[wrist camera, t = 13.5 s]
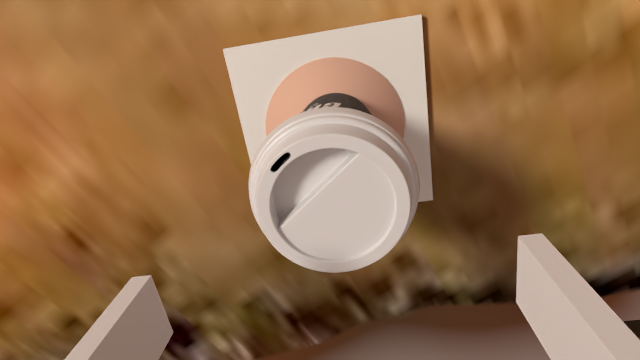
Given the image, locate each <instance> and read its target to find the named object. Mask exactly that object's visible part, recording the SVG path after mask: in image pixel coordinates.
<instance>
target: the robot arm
mask: <svg viewBox="0 0 640 360" xmlns="http://www.w3.org/2000/svg"><path fill="white" fill-rule="evenodd" d="M516 303H517V304H518V306H519V308H520V309H521V311H522V313H523V314H524V316H525V317H526V319H527V321H528V322H529V324H530V326H531V327H532V329H533V331H534V332H535V334H536V336H537V337H538V339H539V341H540V342H541V344H542V346H543V347H544V349H545V350H546V352H547V354H548V356H549V357H550V359H551V360H640V320H633V321H622V320H621V319H620V318H619V317H618V316H617V315H616V314H615V312H613V310H612V309H611V308H610V307H609V306H608V305H607V304H606V303H605V302H604V301H603V299H602V298H601V297H600V296H599V295H598V294H597V293H596V292H595V291H594V290H593V289H592V287H591V286H590V285H589V284H588V283H587V282H586V281H585V280H584V279H583V278H582V277H581V275H580V274H579V273H578V272H577V271H576V270H575V269H574V268H573V267H572V266H571V265H570V263H569V262H568V261H567V260H566V259H565V258H564V257H563V256H562V255H561V254H560V253H559V251H558V250H557V249H556V248H555V247H554V246H553V245H552V244H551V243H550V242H549V241H548V239H547V238H546V237H545V236H544V235H543V234H542V233H541V234H532V235H522V236H518V251H517V287H516ZM172 334H173V330H172V328H171V325H170V323H169V320H168V317H167V315H166V312H165V310H164V307H163V305H162V302H161V299H160V297H159V294H158V292H157V289H156V287H155V284H154V281H153V279H152V276H151V275H149V276H140V277H132V278H131V279H130V280H129V282H128V283H127V284H126V285H125V286H124V288H123V289H122V290H121V291H120V293H119V294H118V295H117V296H116V297H115V299H114V300H113V301H112V302H111V304H110V305H109V306H108V307H107V308H106V310H105V311H104V312H103V313H102V315H101V316H100V317H99V318H98V319H97V321H96V322H95V323H94V324H93V326H92V327H91V328H90V329H89V330H88V332H87V333H86V334H85V335H84V336H83V338H82V339H81V340H80V341H79V343H78V344H77V345H76V346H75V347H74V349H73V350H72V351H71V352H70V354H69V355H68V356H67V357H66V358H65V360H158V359H159V358H160V356H161V354H162V352H163V350H164V348H165V347H166V345H167V343H168V341H169V339H170V337H171V336H172Z"/></svg>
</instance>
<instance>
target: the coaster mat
mask: <svg viewBox="0 0 640 360" xmlns="http://www.w3.org/2000/svg"><path fill="white" fill-rule="evenodd" d="M223 52H224V56H225V60H226V64H227V68H228V72H229V76H230V80H231V84H232V89H233V93H234V97H235V101H236V105H237V109H238V113H239V117H240V121H241V125H242V129H243V134H244V138H245V142H246V146H247V150H248V154H249V158H250V162H251V165H252V162H253V159H254V156H255V154H256V152H257V150H258V148H259V147H260V145H261V144H262V142H263V141H264V139H265V138H266V137H267V136H268V135H269V134H270V133H271V132H272V131H273V130H274V129H275V128H276V127H277V126H279V125H280V124H281V123H283V122H284V121H286V120H287V119H289V118H291V117H293V116H295V115H297V114H300V113H301V112H302V111H303V110H304V109H305V108H306V107H307V106H308V105H309V104H310V103H311V102H312V101H313V100H315V99H316V98H318V97H320V96H322V95H325V94H329V93H343V94H347V95H350V96H353V97H355V98H356V99H358V100H359V101H361V102H362V103H363V104H364V105H365V106H366V108H367V109H368V110H369V111H370V113H371V114H372V115H373V116H374V117H376V118H378V119H380V120H382V121H383V122H385V123H386V124H388V125H389V126H390V127H391V128H393V129H394V130H395V131H396V132H397V133H398V134H399V135H400V136H401V137H402V139H403V140H404V141H405V143H406V144H407V145H408V147H409V149H410V150H411V152H412V154H413V156H414V159H415V161H416V164H417V168H418V172H419V179H420V193H419V200H418V202H422V201H430V200H433V191H432V174H431V158H430V142H429V126H428V109H427V93H426V77H425V60H424V44H423V28H422V14H421V15H415V16H409V17H403V18H397V19H392V20H386V21H380V22H374V23H369V24H363V25H357V26H351V27H346V28H340V29H334V30H328V31H323V32H317V33H311V34H306V35H300V36H294V37H288V38H283V39H277V40H271V41H265V42H260V43H254V44H248V45H242V46H237V47H231V48H225V49H223Z"/></svg>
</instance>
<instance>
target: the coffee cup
mask: <svg viewBox="0 0 640 360" xmlns="http://www.w3.org/2000/svg"><path fill="white" fill-rule="evenodd" d="M419 193H420V179H419V172H418V168H417V164H416V161H415V159H414V156H413V154H412V152H411V150H410V149H409V147H408V145H407V144H406V143H405V141H404V140H403V139H402V137H401V136H400V135H399V134H398V133H397V132H396V131H395V130H394V129H393V128H391V127H390V126H389V125H388V124H386V123H385V122H383V121H382V120H380V119H378V118H376V117H374V116H373V115H372V114H371V113H370V111H369V110H368V109H367V108H366V106H365V105H364V104H363V103H362V102H361V101H359V100H358V99H356V98H355V97H353V96H350V95H347V94H343V93H329V94H325V95H322V96H320V97H318V98H316V99H315V100H313V101H312V102H311V103H310V104H309V105H308V106H307V107H306V108H305V109H304V110H303V111H302V112H301V113H300V114H297V115H295V116H293V117H291V118H289V119H287V120H286V121H284V122H283V123H281V124H280V125H279V126H277V127H276V128H275V129H274V130H273V131H272V132H271V133H270V134H269V135H268V136H267V137H266V138H265V139H264V141H263V142H262V144H261V145H260V147H259V148H258V150H257V152H256V154H255V156H254V159H253V162H252V165H251V168H250V174H249V197H250V203H251V208H252V211H253V214H254V216H255V219H256V221H257V223H258V225H259V227H260V228H261V230H262V232H263V233H264V234H265V236H266V237H267V239H268V240H269V241H270V243H271V244H272V245H273V246H274V247H275V248H276V249H277V250H278V251H279V252H280V253H281V254H282V255H283V256H285V257H286V258H288V259H289V260H291V261H292V262H294V263H296V264H298V265H300V266H303V267H305V268H308V269H312V270H316V271H321V272H347V271H353V270H357V269H360V268H363V267H365V266H368V265H370V264H372V263H374V262H376V261H377V260H379V259H380V258H382V257H383V256H385V255H386V254H387V253H388V252H389V251H390V250H391V249H392V248H393V247H394V246H395V245H396V244H397V242H398V241H399V240H400V239H401V238H402V237H403V235H404V234H405V232H406V231H407V229H408V228H409V226H410V224H411V222H412V220H413V218H414V215H415V213H416V209H417V205H418V200H419Z"/></svg>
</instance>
